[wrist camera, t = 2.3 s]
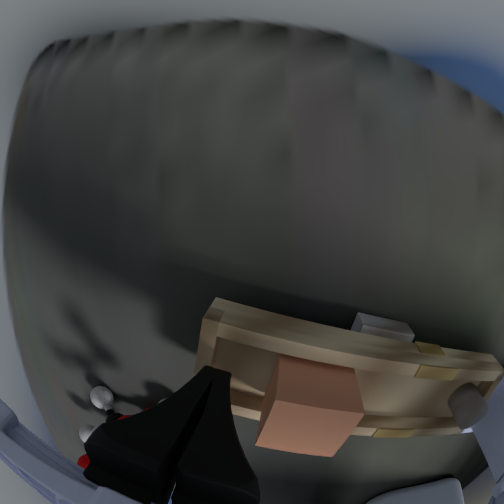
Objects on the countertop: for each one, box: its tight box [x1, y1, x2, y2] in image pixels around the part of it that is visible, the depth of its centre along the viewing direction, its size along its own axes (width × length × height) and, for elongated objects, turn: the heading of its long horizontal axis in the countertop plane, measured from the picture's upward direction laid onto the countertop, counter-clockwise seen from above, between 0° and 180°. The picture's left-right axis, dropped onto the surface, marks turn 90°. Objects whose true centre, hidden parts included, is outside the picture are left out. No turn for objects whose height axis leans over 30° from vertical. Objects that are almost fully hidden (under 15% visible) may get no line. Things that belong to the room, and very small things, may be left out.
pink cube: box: [255, 353, 365, 457], centre depth 12 cm, size 4×4×4 cm
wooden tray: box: [194, 297, 504, 438], centre depth 14 cm, size 20×7×5 cm, turn 77°
